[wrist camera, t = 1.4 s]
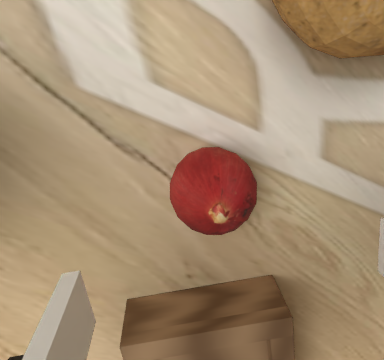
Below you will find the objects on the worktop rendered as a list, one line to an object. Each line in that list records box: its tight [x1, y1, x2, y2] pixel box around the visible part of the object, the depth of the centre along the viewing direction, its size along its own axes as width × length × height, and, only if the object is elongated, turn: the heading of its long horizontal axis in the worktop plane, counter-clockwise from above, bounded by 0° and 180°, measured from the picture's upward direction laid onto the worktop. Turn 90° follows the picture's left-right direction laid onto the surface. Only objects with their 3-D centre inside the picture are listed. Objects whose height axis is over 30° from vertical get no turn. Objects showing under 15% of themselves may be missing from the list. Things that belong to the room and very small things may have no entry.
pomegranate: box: [170, 147, 257, 235], centre depth 23 cm, size 6×6×8 cm
